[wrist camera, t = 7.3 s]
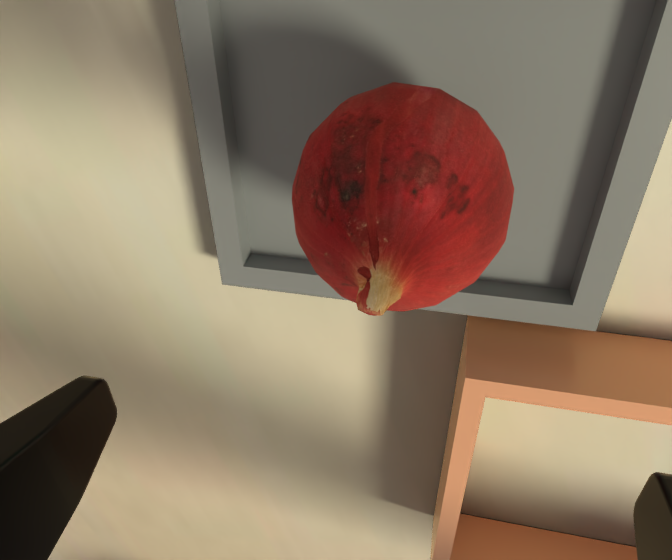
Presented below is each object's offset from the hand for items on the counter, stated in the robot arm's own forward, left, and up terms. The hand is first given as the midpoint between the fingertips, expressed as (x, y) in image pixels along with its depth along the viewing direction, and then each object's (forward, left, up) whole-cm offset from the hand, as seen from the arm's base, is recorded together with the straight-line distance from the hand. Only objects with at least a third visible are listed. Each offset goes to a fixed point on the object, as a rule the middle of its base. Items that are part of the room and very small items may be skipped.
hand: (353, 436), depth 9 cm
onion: (0, -1, -11) cm, 11 cm away
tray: (0, -1, -12) cm, 12 cm away
